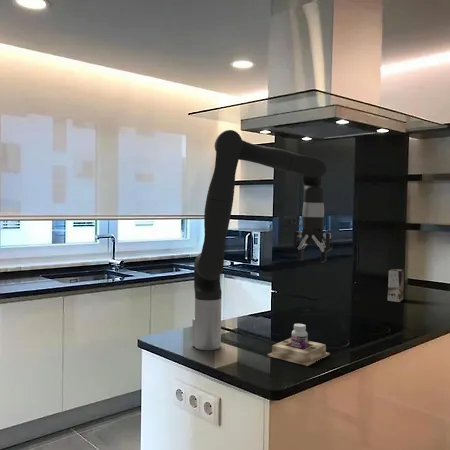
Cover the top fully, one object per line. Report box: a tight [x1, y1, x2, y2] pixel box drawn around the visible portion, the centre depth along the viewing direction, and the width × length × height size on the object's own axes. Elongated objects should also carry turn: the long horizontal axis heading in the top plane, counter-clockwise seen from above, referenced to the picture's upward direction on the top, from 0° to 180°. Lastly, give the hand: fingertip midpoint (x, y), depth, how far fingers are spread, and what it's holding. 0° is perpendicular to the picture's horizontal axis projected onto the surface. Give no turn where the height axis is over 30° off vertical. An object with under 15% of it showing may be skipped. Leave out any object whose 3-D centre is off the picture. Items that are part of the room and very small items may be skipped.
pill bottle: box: [290, 323, 309, 350], centre depth 164 cm, size 5×5×10 cm
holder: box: [267, 337, 331, 367], centre depth 164 cm, size 15×15×4 cm
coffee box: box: [387, 268, 405, 303], centre depth 260 cm, size 9×6×16 cm
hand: (312, 261), depth 175 cm, fingers open, 8 cm apart
